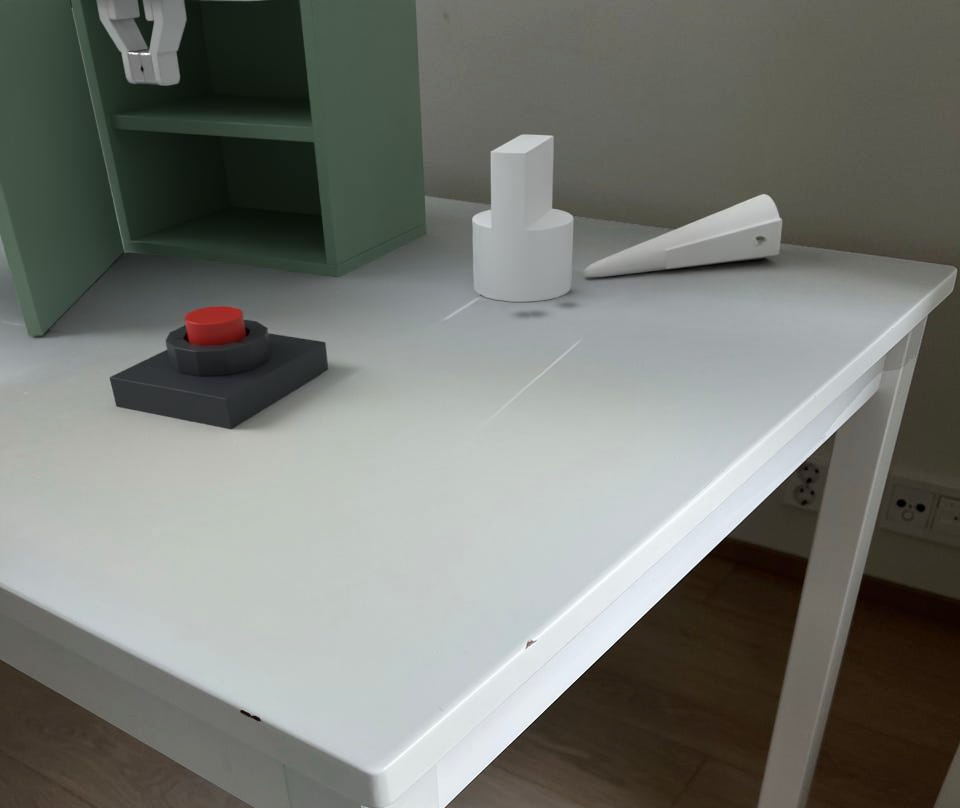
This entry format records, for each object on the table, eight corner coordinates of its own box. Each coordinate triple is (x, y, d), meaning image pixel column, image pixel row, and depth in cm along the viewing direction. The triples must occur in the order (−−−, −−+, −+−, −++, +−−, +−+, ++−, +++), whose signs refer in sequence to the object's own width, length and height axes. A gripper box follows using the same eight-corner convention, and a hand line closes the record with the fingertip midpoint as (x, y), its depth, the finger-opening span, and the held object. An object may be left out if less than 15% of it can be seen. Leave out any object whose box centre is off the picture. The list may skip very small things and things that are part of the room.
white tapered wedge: (567, 279, 100) (749, 244, 102) (587, 305, 95) (778, 267, 97) (565, 221, 96) (754, 185, 98) (585, 245, 91) (784, 206, 93)
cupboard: (338, 278, 95) (308, -29, 81) (124, 251, 105) (64, -28, 91) (426, 234, 108) (414, -37, 94) (229, 214, 118) (191, -35, 104)
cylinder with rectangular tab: (491, 270, 97) (490, 132, 90) (582, 277, 94) (587, 136, 87) (459, 297, 90) (455, 150, 83) (555, 305, 87) (559, 155, 80)
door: (-44, 338, 83) (-157, -9, 69) (56, 253, 104) (-15, -24, 90) (42, 335, 83) (-53, -11, 69) (124, 252, 104) (64, -26, 90)
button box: (231, 430, 67) (221, 372, 64) (116, 407, 70) (102, 351, 68) (328, 370, 75) (323, 317, 73) (221, 352, 79) (213, 301, 77)
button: (223, 352, 69) (218, 326, 68) (177, 344, 70) (172, 319, 69) (257, 334, 71) (254, 309, 70) (212, 327, 73) (208, 303, 72)
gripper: (-73, -195, 57) (-4, 81, 65) (215, -216, 50) (253, 98, 58) (13, -186, 62) (68, 71, 70) (288, -204, 54) (314, 85, 62)
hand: (154, 83), depth 64 cm, fingers closed
